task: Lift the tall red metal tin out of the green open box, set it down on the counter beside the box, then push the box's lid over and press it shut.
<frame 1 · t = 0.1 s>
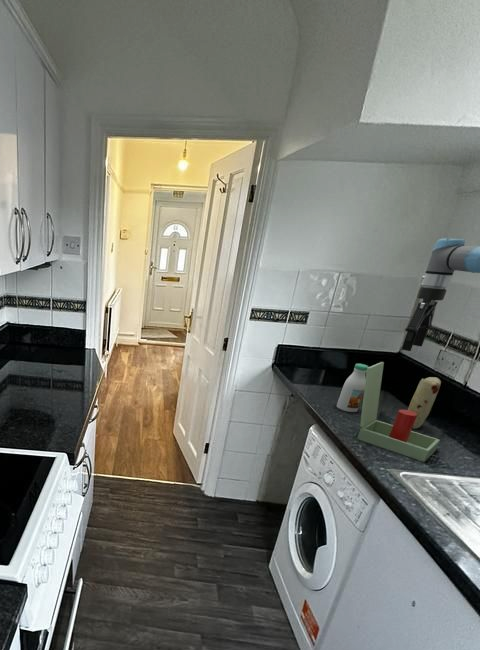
hand: (411, 347, 151), 30 cm above the counter, tool pointing down, fingers open, 13 cm apart
green open box: (394, 446, 143), on the counter
lid: (372, 394, 145), point 16 cm above the counter, hinge at 100.0°
tin: (395, 444, 143), point 1 cm above the counter, touching green open box
food model: (411, 426, 161), on the counter
milk bottle: (345, 411, 172), on the counter
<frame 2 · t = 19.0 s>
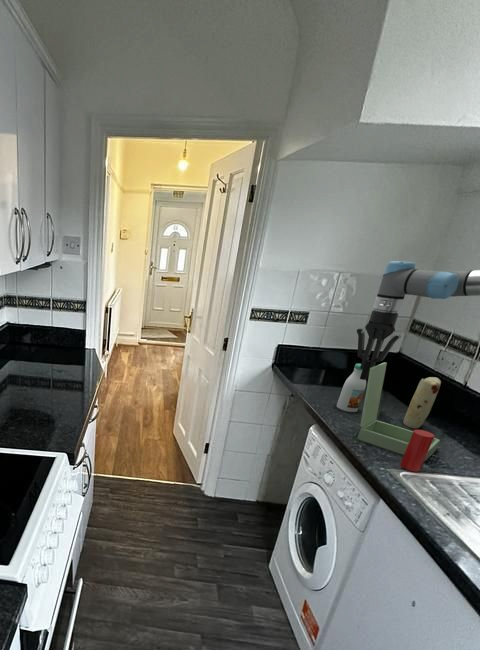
hand: (363, 378, 146), 20 cm above the counter, tool pointing down, fingers closed
lid: (373, 394, 145), point 16 cm above the counter, hinge at 97.5°, touching gripper
tin: (409, 467, 130), on the counter
everything else where it was.
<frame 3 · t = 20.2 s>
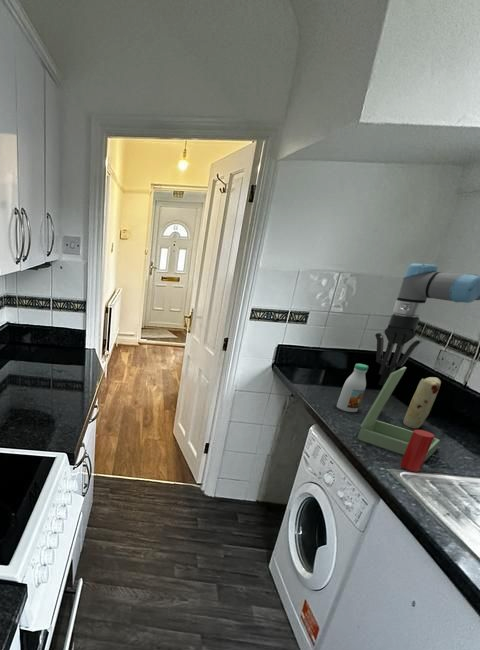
hand: (382, 384, 142), 20 cm above the counter, tool pointing down, fingers closed
lid: (383, 397, 142), point 16 cm above the counter, hinge at 80.5°, touching gripper
everything else where it was.
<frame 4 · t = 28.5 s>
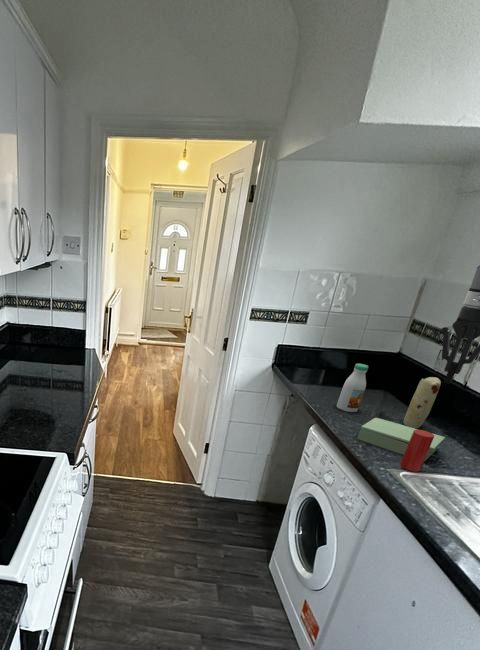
hand: (447, 382, 132), 24 cm above the counter, tool pointing down, fingers closed
lid: (402, 432, 140), point 6 cm above the counter, hinge at 1.5°
everything else where it was.
at the end: tin inside the target area (0.1 cm from its centre), on the counter; tin tilted 0°; lid at +2° (first picture: +100°) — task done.
